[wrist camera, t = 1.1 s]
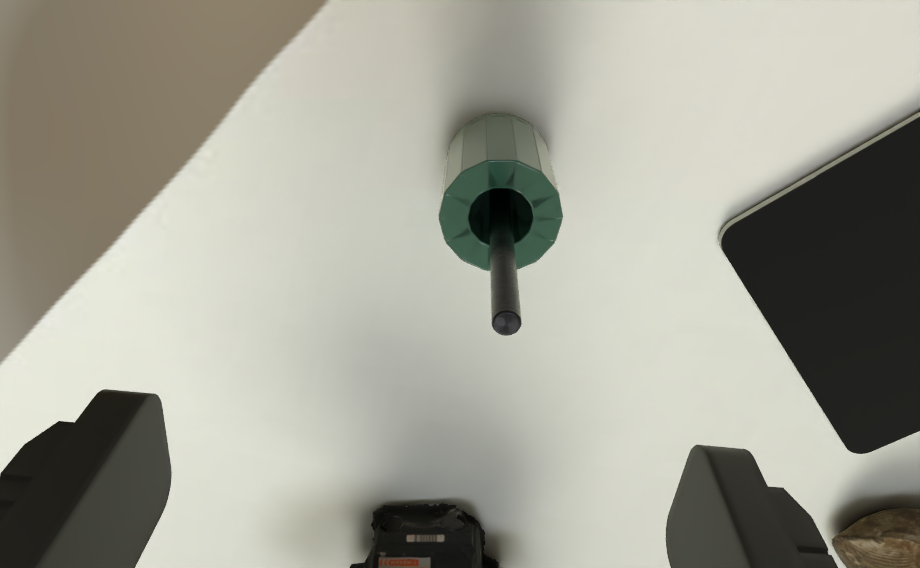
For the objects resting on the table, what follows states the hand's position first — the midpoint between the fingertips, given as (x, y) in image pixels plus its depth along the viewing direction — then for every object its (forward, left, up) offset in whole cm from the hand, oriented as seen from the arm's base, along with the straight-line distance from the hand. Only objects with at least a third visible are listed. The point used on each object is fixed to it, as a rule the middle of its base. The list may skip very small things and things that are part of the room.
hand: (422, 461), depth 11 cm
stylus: (+5, -1, -27) cm, 28 cm away
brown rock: (+42, +13, -28) cm, 52 cm away
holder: (+5, -1, -28) cm, 28 cm away
